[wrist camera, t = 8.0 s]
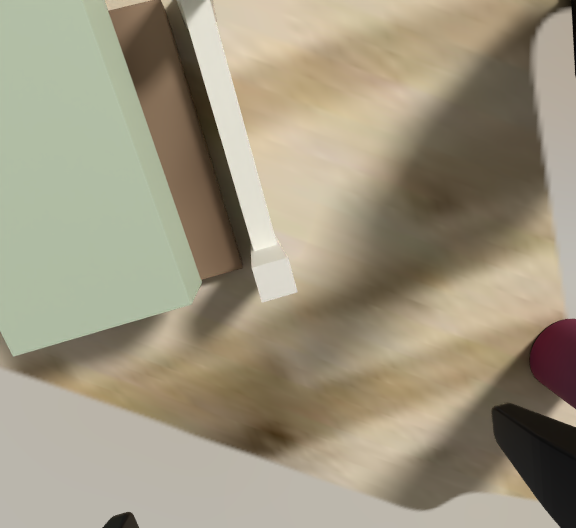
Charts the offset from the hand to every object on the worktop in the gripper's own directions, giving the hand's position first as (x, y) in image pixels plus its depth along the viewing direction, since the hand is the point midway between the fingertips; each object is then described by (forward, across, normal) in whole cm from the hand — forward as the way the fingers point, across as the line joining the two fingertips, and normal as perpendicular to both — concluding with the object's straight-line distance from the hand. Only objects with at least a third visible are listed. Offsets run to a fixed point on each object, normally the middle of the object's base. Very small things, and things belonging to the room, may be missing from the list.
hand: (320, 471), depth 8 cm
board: (+8, +6, -9) cm, 14 cm away
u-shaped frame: (+12, 0, -9) cm, 16 cm away
